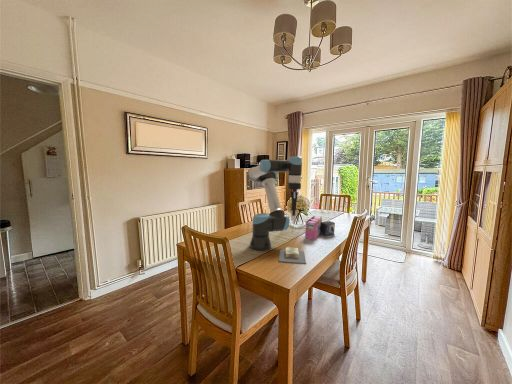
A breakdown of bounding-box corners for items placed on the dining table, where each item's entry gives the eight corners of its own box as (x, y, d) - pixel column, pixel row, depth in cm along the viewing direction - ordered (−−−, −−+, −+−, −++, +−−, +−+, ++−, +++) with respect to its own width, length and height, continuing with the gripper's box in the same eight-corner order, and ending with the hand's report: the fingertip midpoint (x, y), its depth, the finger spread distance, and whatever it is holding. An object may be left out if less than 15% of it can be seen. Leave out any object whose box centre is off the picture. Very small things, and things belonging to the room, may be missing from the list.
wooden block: (285, 253, 134) (285, 247, 144) (285, 257, 134) (285, 250, 144) (298, 254, 133) (297, 247, 143) (298, 257, 133) (297, 251, 143)
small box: (325, 236, 176) (325, 224, 175) (319, 234, 182) (320, 222, 181) (334, 234, 181) (335, 222, 180) (328, 232, 187) (329, 220, 186)
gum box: (313, 230, 192) (313, 215, 191) (322, 232, 188) (322, 216, 187) (304, 238, 172) (305, 221, 170) (314, 240, 168) (315, 223, 166)
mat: (278, 261, 129) (278, 260, 128) (280, 250, 146) (280, 249, 146) (306, 264, 126) (306, 263, 126) (303, 251, 144) (303, 251, 144)
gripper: (301, 183, 122) (300, 223, 125) (300, 181, 135) (298, 218, 138) (288, 183, 124) (287, 222, 127) (288, 181, 136) (287, 217, 139)
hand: (293, 220), depth 132 cm, fingers closed
